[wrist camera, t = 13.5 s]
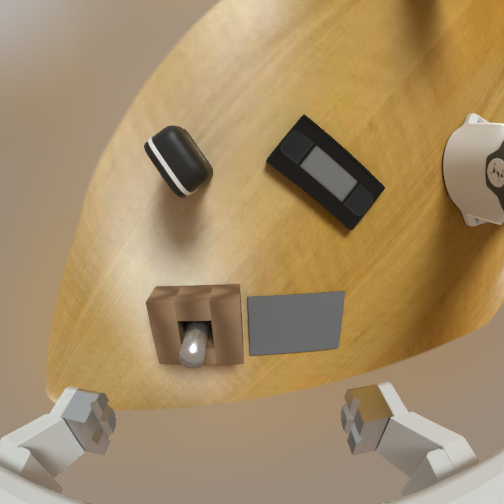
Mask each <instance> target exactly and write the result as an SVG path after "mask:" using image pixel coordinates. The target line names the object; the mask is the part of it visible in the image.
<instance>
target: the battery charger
mask: <svg viewBox="0 0 504 504" xmlns="http://www.w3.org/2000/svg"><path fill="white" fill-rule="evenodd" d="M144 148H145V151H146V153H147V155H148V156H149V158H150V159H151V161H152V162H153V164H154V165H155V167H156V168H157V170H158V171H159V172H160V174H161V175H162V177H163V178H164V180H165V181H166V182H167V184H168V185H169V187H170V188H171V189H172V191H173V192H174V193H175V194H176V195H177V196H179V197H186V196H188V195H191V194H193V193H194V192H195V191H197V190H198V189H199V188H200V187H201V186H203V185H204V184H205V183H207V182H208V181H209V180H210V179H211V178H212V176H213V169H212V167H211V165H210V163H209V162H208V160H207V159H206V158H205V156H204V155H203V153H202V152H201V151H200V149H199V148H198V146H197V145H196V143H195V142H194V140H193V139H192V137H191V136H190V135H189V133H188V132H187V131H186V130H185V129H183V128H181V127H178V126H168V127H166V128H164V129H163V130H161V131H160V132H159V133H157V134H156V135H155V136H153V137H151V138H149V139H148V141H147V142H146V143H145V145H144Z"/></svg>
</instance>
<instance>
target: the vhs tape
mask: <svg viewBox="0 0 504 504" xmlns="http://www.w3.org/2000/svg"><path fill="white" fill-rule="evenodd" d="M267 162H268V163H270V164H271V165H272V166H274V167H275V168H276V169H277V170H279V171H280V172H281V173H283V174H284V175H285V176H286V177H288V178H289V179H290V180H291V181H293V182H294V183H296V184H297V185H298V186H300V187H301V188H302V189H303V190H304V191H306V192H307V193H308V194H309V195H311V196H312V197H313V198H314V199H315V200H317V201H318V202H319V203H320V204H321V205H322V206H324V207H325V208H326V209H327V210H328V211H330V212H331V213H332V214H333V215H334V216H335V217H336V218H338V219H339V220H340V221H341V222H342V223H343V224H345V226H346V227H347V228H349V229H350V230H353V229H354V227H355V226H356V225H357V224H358V222H359V221H360V220H361V219H362V217H363V216H364V215H365V213H366V212H367V211H368V210H369V208H370V207H371V206H372V205H373V203H374V202H375V201H376V199H377V198H378V197H379V195H380V194H381V193H382V192H383V190H384V189H385V187H384V186H383V185H382V184H381V183H380V182H379V181H378V180H377V179H376V178H375V177H374V176H373V175H372V174H371V173H370V172H369V171H368V170H367V169H366V168H365V167H364V166H363V165H362V164H361V163H360V162H359V161H357V160H356V159H355V158H354V157H353V156H352V155H351V154H350V153H349V152H348V151H347V150H345V149H344V148H343V147H342V146H341V145H340V144H339V143H338V142H337V141H335V140H334V139H333V138H332V137H331V136H330V135H328V134H327V133H326V132H325V131H324V130H323V129H321V128H320V127H319V126H318V125H317V124H315V123H314V122H313V121H312V120H311V119H309V118H308V117H307V116H306V115H303V116H302V117H301V118H300V119H299V120H298V121H297V123H296V124H295V125H294V126H293V127H292V128H291V130H290V131H289V132H288V133H287V135H286V136H285V137H284V138H283V139H282V141H281V142H280V143H279V144H278V146H277V147H276V148H275V149H274V151H273V152H272V153H271V154H270V156H269V157H268V158H267Z"/></svg>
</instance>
